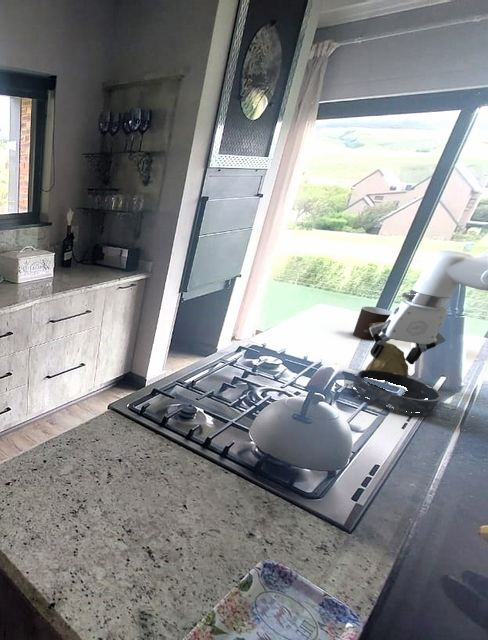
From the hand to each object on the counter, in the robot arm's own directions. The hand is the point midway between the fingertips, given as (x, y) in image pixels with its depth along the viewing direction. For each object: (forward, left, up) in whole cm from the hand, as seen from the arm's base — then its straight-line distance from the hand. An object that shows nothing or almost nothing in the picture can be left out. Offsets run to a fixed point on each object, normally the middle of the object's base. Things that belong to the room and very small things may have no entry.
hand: (391, 358), depth 115 cm
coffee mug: (-9, -36, -6) cm, 37 cm away
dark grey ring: (+3, +15, -6) cm, 17 cm away
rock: (-1, 0, -6) cm, 6 cm away
